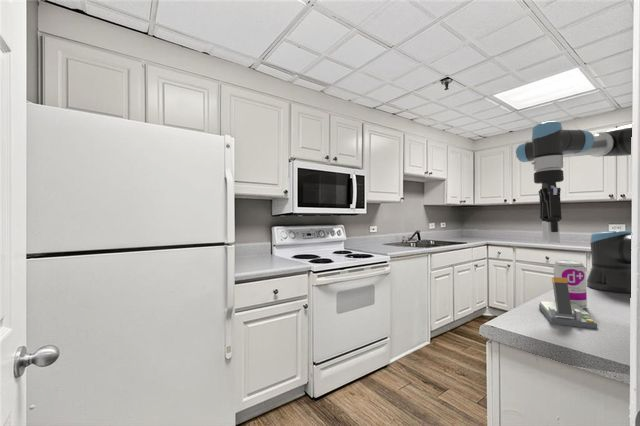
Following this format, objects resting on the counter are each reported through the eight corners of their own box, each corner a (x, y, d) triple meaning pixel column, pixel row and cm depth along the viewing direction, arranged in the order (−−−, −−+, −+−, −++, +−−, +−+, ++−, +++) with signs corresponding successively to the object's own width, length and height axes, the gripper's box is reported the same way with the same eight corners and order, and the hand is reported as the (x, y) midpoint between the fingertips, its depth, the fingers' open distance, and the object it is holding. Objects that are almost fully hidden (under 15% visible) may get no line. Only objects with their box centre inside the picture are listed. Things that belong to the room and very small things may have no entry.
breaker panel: (577, 312, 90) (577, 299, 90) (597, 328, 78) (596, 314, 78) (539, 308, 95) (538, 296, 95) (551, 323, 82) (551, 310, 82)
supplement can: (590, 311, 91) (588, 264, 91) (557, 307, 95) (556, 263, 95) (582, 303, 98) (580, 260, 98) (552, 301, 102) (550, 259, 102)
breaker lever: (573, 317, 82) (567, 278, 86) (575, 317, 80) (569, 277, 84) (554, 315, 84) (549, 278, 88) (556, 315, 82) (551, 277, 86)
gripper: (527, 174, 102) (530, 238, 102) (541, 168, 85) (544, 244, 85) (553, 172, 99) (556, 238, 99) (573, 165, 82) (576, 244, 82)
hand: (550, 241), depth 92 cm, fingers open, 6 cm apart
